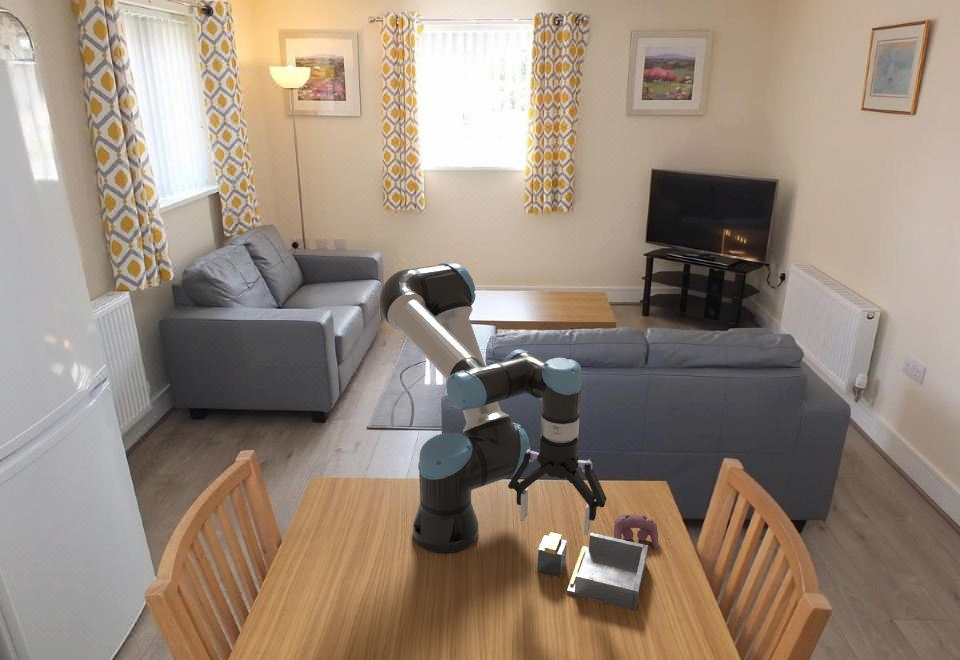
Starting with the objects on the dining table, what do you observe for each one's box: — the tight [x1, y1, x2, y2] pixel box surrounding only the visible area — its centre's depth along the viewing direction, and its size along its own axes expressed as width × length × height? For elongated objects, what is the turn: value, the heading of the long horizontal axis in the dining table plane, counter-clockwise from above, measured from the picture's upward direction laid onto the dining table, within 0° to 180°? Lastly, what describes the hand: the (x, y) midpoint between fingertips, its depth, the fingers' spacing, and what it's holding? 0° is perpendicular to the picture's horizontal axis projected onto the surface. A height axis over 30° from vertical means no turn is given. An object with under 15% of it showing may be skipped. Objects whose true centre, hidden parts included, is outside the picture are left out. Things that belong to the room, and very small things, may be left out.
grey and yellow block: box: [536, 532, 568, 578], centre depth 148 cm, size 5×5×7 cm
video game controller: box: [613, 513, 659, 550], centre depth 157 cm, size 10×5×7 cm, turn 85°
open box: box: [566, 532, 649, 612], centre depth 145 cm, size 14×15×5 cm
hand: (554, 524), depth 145 cm, fingers open, 13 cm apart
